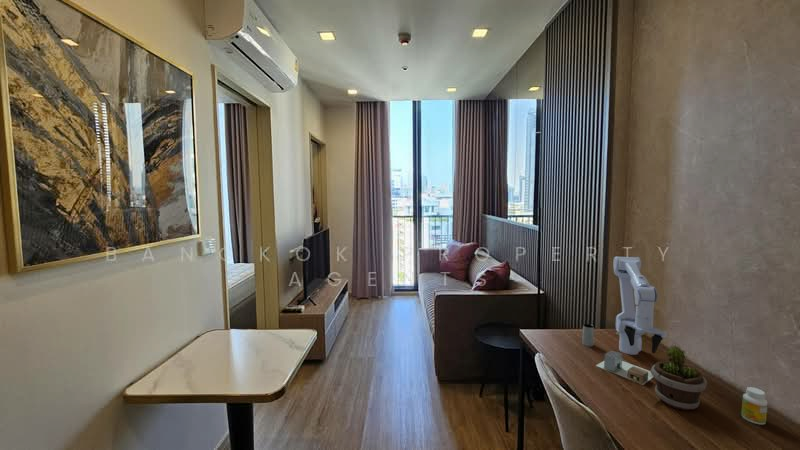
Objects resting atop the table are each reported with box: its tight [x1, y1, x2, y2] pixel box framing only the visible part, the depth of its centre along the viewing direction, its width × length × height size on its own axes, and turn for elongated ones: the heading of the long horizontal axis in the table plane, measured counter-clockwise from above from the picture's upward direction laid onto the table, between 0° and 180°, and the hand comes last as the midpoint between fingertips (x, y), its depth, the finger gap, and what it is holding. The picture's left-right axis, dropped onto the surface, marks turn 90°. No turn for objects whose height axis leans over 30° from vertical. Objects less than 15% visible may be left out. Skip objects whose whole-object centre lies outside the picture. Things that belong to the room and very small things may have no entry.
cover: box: [627, 366, 649, 383], centre depth 126 cm, size 5×5×3 cm
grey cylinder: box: [581, 323, 595, 347], centre depth 156 cm, size 4×4×10 cm
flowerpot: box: [650, 342, 708, 411], centre depth 113 cm, size 14×15×20 cm
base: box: [595, 360, 654, 386], centre depth 133 cm, size 13×17×3 cm
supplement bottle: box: [741, 386, 768, 425], centre depth 104 cm, size 5×5×10 cm
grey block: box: [603, 350, 623, 374], centre depth 134 cm, size 6×4×6 cm, turn 123°
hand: (642, 348), depth 132 cm, fingers open, 7 cm apart
